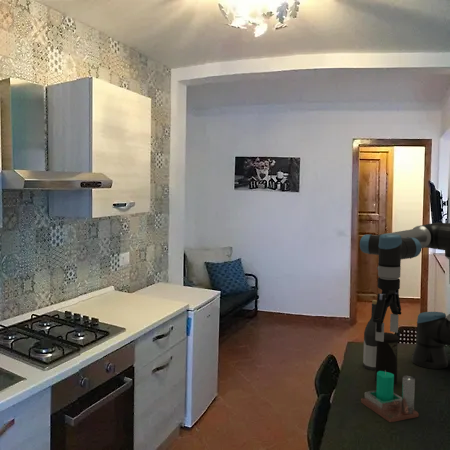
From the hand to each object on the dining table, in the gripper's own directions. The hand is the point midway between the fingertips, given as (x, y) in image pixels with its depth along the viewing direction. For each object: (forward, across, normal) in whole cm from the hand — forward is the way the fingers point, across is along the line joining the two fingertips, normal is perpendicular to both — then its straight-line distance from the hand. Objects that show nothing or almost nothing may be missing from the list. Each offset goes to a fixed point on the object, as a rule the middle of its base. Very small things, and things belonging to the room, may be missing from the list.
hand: (386, 336), depth 172 cm
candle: (+25, 0, 0) cm, 25 cm away
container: (+26, -22, -8) cm, 35 cm away
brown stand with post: (+26, +2, +2) cm, 26 cm away
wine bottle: (+26, -34, -19) cm, 47 cm away
